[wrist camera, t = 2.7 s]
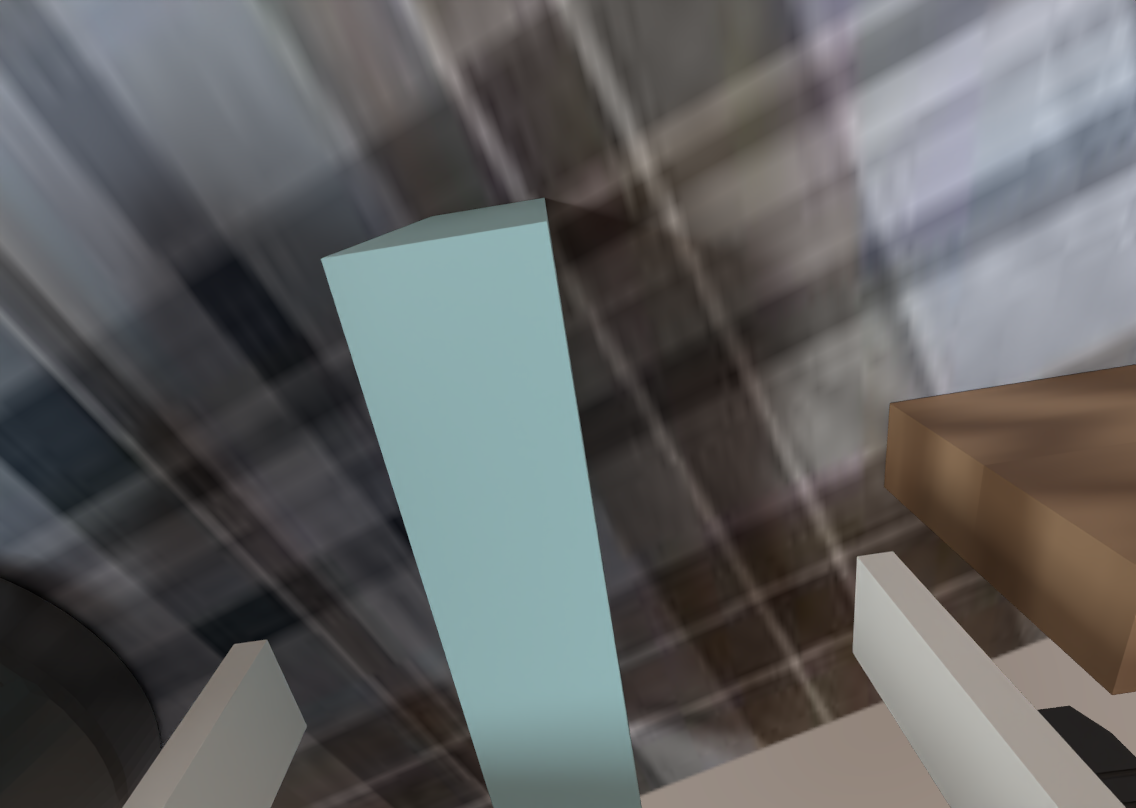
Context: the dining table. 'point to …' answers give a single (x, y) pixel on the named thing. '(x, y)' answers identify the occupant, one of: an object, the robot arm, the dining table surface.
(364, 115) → the dining table surface
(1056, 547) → the brown u-shaped block
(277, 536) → the dining table surface
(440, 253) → the teal bridge block
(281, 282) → the dining table surface
